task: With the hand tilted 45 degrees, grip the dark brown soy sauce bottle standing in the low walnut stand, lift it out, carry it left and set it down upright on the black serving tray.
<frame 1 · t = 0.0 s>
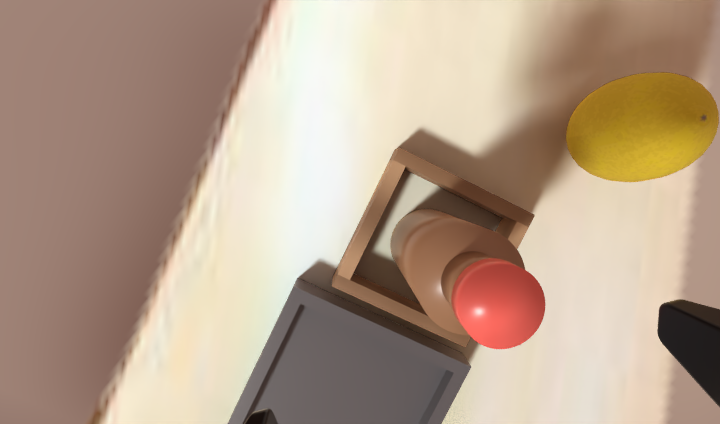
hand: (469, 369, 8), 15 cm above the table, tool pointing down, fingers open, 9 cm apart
stand: (426, 244, 24), on the table
lemon: (580, 138, 24), on the table
bottle: (452, 265, 18), in the stand
tray: (328, 421, 25), on the table
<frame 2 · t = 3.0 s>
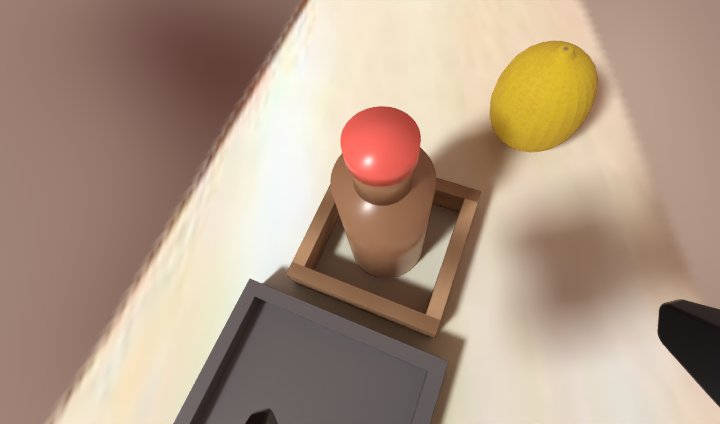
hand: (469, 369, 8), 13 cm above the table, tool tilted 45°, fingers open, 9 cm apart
stand: (386, 242, 24), on the table
lemon: (517, 141, 26), on the table
bottle: (384, 205, 19), in the stand
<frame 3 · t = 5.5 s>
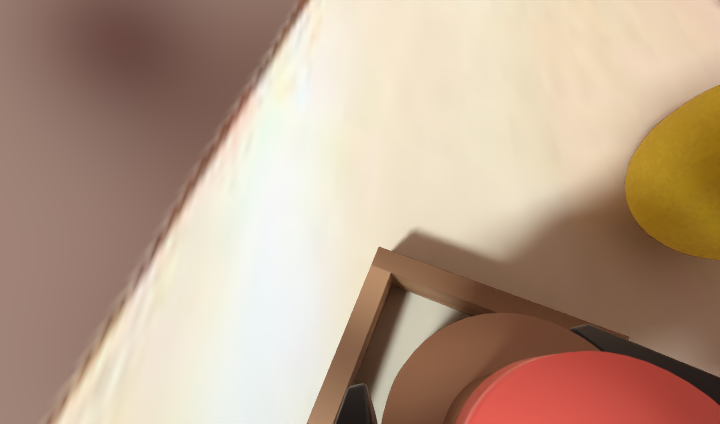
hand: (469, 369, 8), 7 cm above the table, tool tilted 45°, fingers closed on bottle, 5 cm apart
stand: (450, 413, 14), on the table
lemon: (654, 221, 16), on the table
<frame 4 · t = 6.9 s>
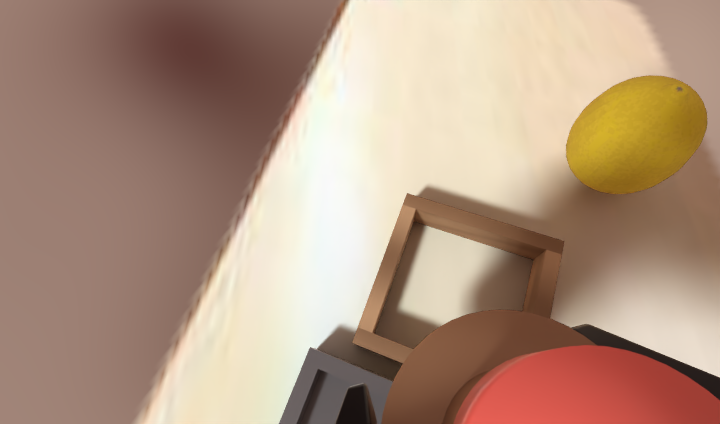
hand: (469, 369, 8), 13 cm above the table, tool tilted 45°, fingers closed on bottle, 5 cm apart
stand: (455, 296, 21), on the table
lemon: (589, 176, 24), on the table
when the fingers open (8 cm above the table, at t = 8.5 s): bottle stays where it is, resting on tray.
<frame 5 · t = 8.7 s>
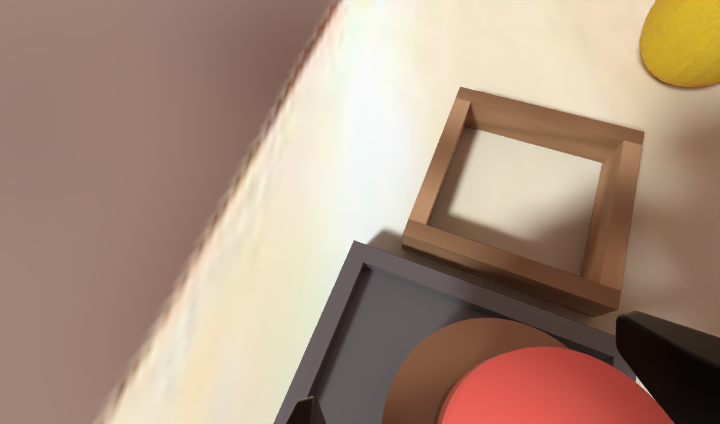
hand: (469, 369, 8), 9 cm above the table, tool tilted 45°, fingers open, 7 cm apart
stand: (514, 200, 19), on the table
lemon: (660, 81, 21), on the table
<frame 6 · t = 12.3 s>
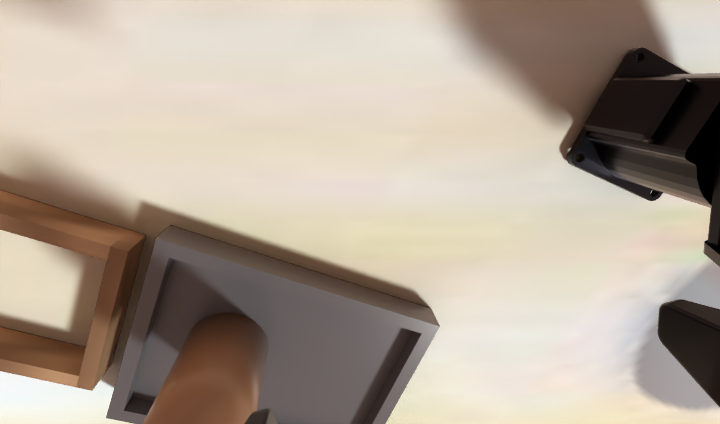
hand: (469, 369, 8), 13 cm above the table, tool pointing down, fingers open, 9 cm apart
stand: (40, 280, 20), on the table
tray: (277, 350, 23), on the table
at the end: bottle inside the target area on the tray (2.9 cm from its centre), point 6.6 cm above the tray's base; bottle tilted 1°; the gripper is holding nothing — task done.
